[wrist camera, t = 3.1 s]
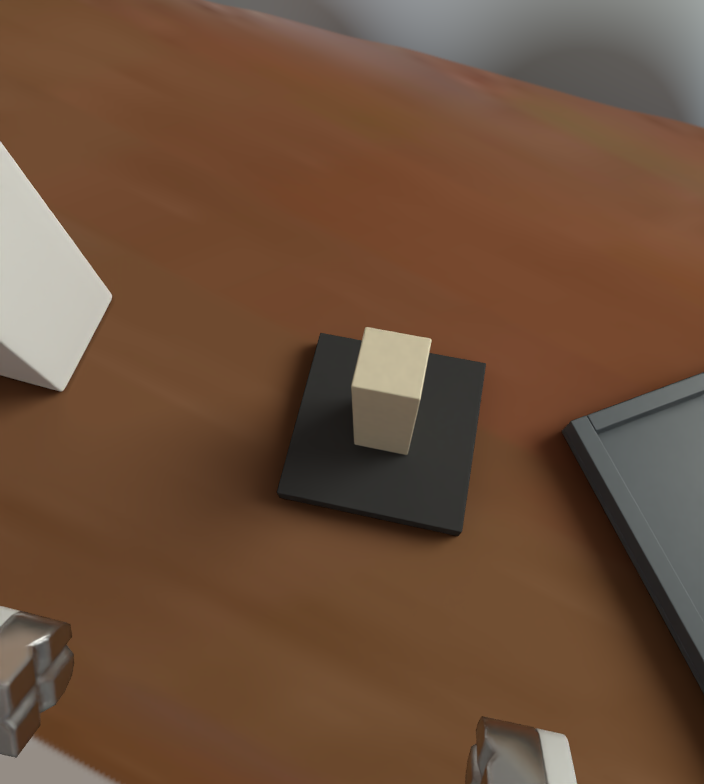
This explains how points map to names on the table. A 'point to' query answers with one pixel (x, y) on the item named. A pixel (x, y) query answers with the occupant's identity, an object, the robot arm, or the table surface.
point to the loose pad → (380, 472)
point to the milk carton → (42, 288)
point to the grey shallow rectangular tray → (655, 497)
